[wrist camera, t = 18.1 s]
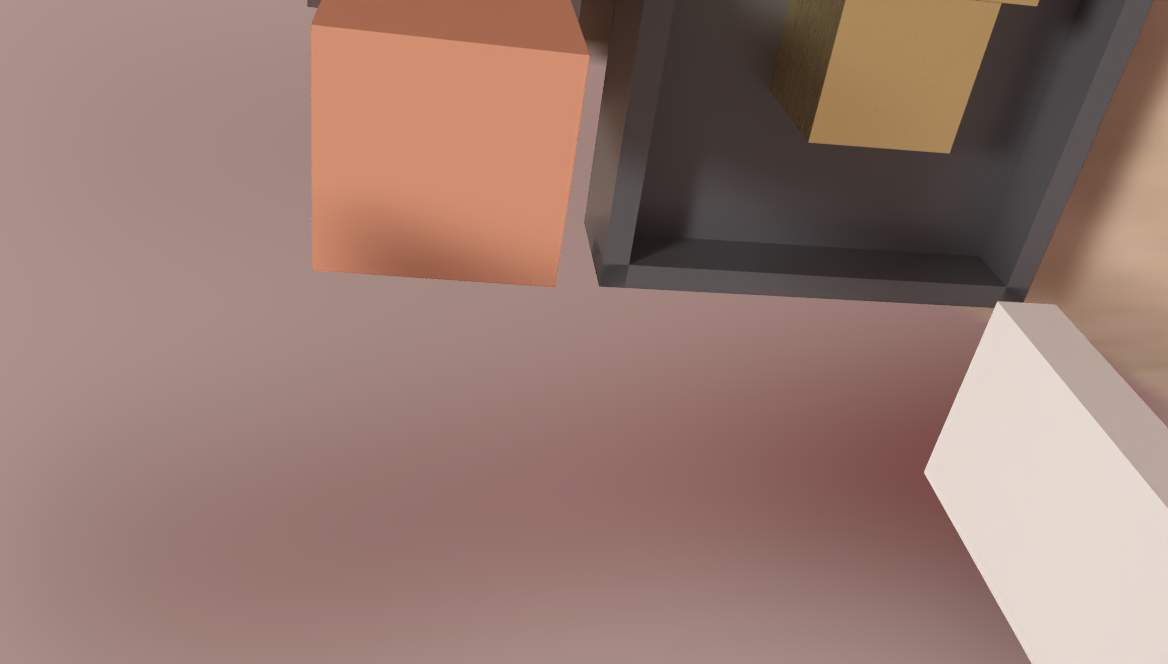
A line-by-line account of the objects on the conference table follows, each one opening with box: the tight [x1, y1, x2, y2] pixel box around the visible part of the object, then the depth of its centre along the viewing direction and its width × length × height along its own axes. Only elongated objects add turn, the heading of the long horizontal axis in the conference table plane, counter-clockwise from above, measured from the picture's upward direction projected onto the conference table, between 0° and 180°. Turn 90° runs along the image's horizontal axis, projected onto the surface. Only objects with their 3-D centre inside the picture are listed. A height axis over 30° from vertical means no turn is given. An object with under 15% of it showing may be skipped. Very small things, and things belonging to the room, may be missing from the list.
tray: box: [584, 0, 1154, 308], centre depth 29 cm, size 16×14×4 cm
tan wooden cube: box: [769, 0, 1002, 153], centre depth 27 cm, size 4×4×4 cm
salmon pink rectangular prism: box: [308, 0, 590, 287], centre depth 22 cm, size 4×7×16 cm, turn 82°
